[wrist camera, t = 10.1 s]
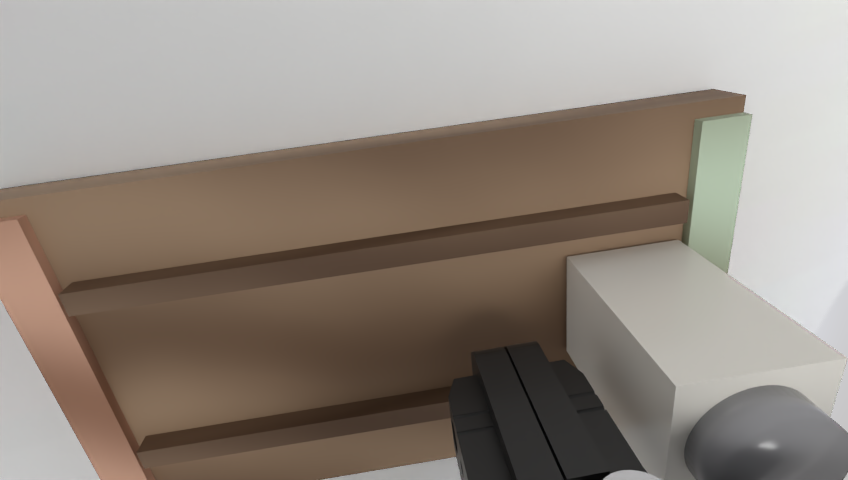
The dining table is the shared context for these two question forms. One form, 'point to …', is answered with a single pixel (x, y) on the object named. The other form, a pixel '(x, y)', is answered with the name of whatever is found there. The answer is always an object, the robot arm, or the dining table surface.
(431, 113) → the dining table surface
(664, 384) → the slider knob
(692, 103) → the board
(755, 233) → the dining table surface
